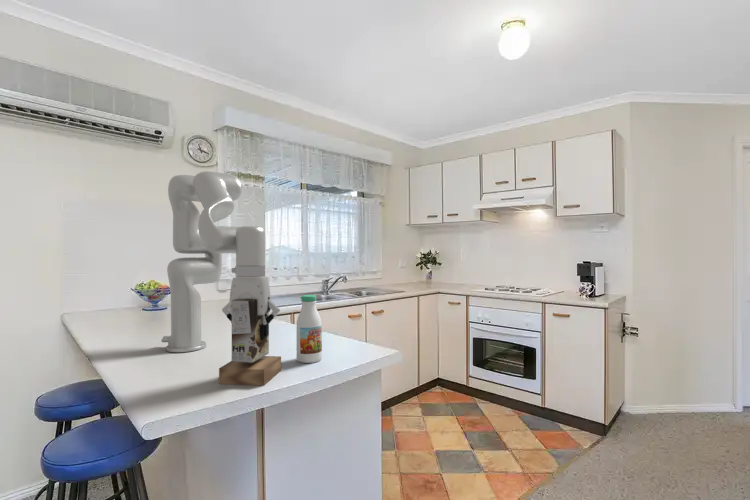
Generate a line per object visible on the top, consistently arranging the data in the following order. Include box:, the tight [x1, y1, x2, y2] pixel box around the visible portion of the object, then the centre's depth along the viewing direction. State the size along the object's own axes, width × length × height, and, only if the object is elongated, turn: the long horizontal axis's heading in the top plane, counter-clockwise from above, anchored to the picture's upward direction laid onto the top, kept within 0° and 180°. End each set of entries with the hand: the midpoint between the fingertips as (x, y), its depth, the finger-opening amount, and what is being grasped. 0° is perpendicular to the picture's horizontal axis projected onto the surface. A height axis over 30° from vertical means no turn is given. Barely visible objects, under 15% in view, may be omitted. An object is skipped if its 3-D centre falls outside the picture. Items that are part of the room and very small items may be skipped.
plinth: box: [218, 355, 282, 386], centre depth 104 cm, size 12×12×4 cm
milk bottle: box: [295, 294, 323, 364], centre depth 120 cm, size 8×8×20 cm
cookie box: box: [230, 299, 270, 363], centre depth 104 cm, size 9×6×16 cm
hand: (251, 337), depth 104 cm, fingers closed on cookie box, 6 cm apart
